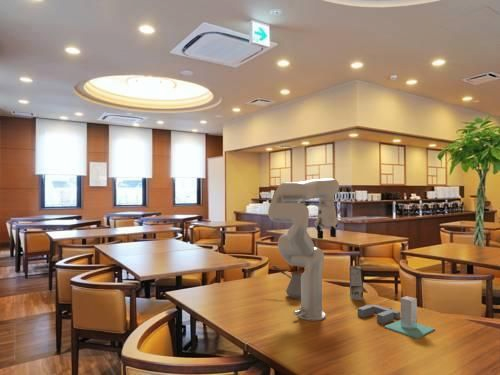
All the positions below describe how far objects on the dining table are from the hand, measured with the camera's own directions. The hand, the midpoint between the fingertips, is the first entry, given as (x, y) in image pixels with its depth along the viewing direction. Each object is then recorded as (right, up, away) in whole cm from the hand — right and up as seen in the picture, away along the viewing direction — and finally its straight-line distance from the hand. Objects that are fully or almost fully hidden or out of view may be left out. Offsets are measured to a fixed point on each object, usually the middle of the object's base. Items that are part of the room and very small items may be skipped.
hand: (326, 237), depth 181 cm
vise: (+21, -33, -19) cm, 43 cm away
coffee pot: (-18, -34, +14) cm, 41 cm away
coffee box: (+18, -34, +9) cm, 39 cm away
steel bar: (+27, -32, -34) cm, 54 cm away
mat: (+27, -33, -34) cm, 54 cm away
